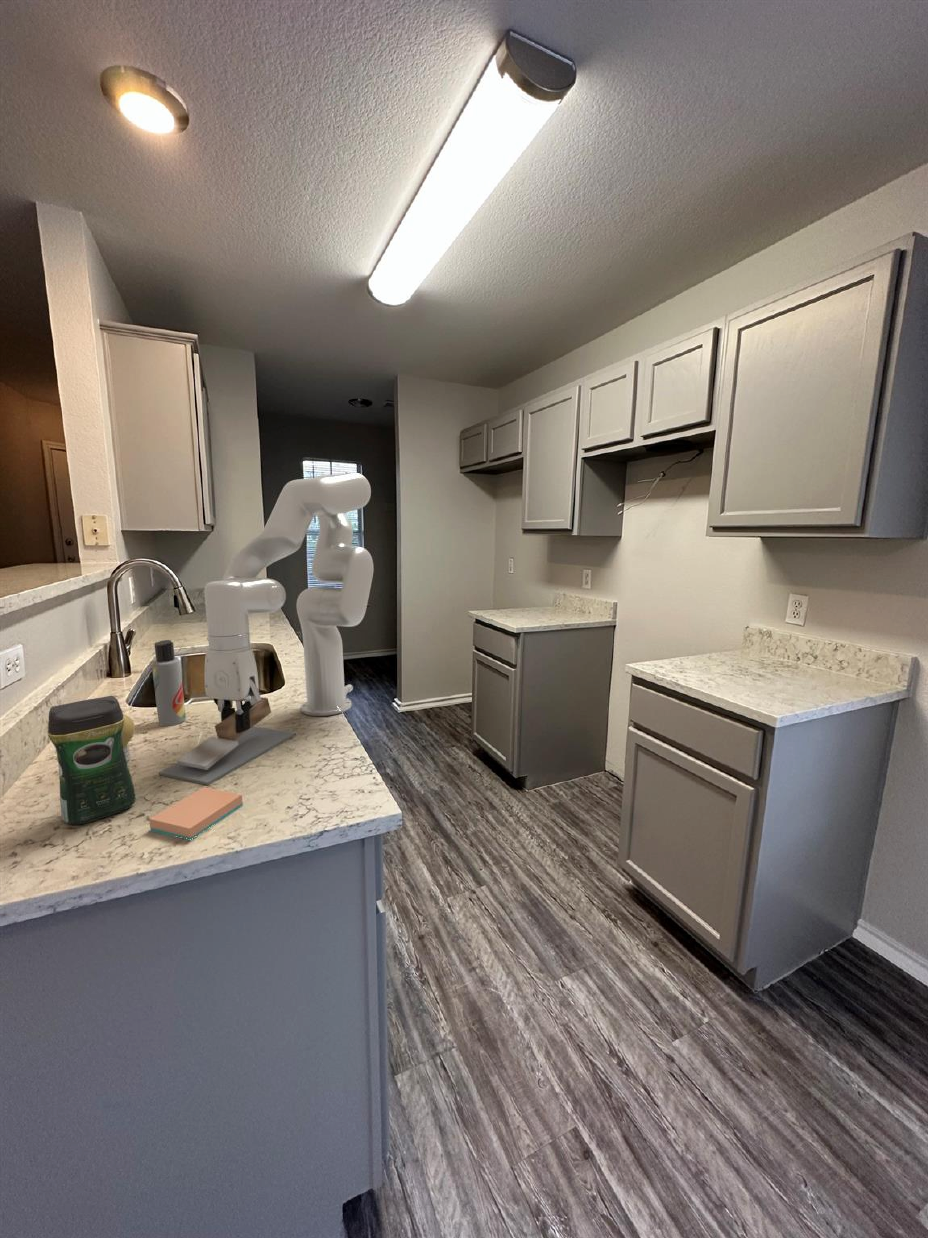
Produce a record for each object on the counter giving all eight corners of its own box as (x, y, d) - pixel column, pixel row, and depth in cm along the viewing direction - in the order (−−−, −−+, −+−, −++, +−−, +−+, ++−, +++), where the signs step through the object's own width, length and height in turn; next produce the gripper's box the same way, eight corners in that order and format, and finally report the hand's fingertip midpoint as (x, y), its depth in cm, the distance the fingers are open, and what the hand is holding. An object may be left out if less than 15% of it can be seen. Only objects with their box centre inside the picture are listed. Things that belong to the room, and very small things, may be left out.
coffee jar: (131, 791, 85) (118, 688, 82) (139, 809, 79) (125, 699, 76) (59, 812, 78) (42, 701, 75) (63, 833, 72) (44, 715, 70)
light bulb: (94, 773, 91) (87, 723, 90) (104, 760, 97) (97, 712, 95) (134, 767, 94) (128, 718, 92) (141, 754, 100) (135, 707, 98)
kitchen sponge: (204, 787, 82) (149, 818, 73) (241, 794, 79) (190, 828, 70) (205, 800, 82) (151, 833, 73) (242, 808, 80) (191, 843, 70)
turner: (253, 710, 109) (249, 695, 108) (278, 713, 107) (275, 699, 105) (178, 764, 91) (172, 748, 90) (206, 769, 89) (201, 753, 88)
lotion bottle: (191, 718, 120) (182, 638, 117) (175, 726, 114) (166, 643, 111) (169, 717, 120) (160, 638, 117) (153, 726, 115) (143, 643, 112)
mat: (253, 728, 113) (253, 726, 113) (296, 734, 109) (296, 732, 109) (159, 775, 90) (158, 772, 90) (208, 785, 86) (207, 782, 86)
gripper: (183, 643, 96) (191, 731, 99) (247, 648, 91) (254, 741, 94) (213, 636, 103) (220, 719, 106) (275, 641, 98) (281, 728, 101)
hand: (236, 728), depth 100 cm, fingers closed on turner, 3 cm apart
